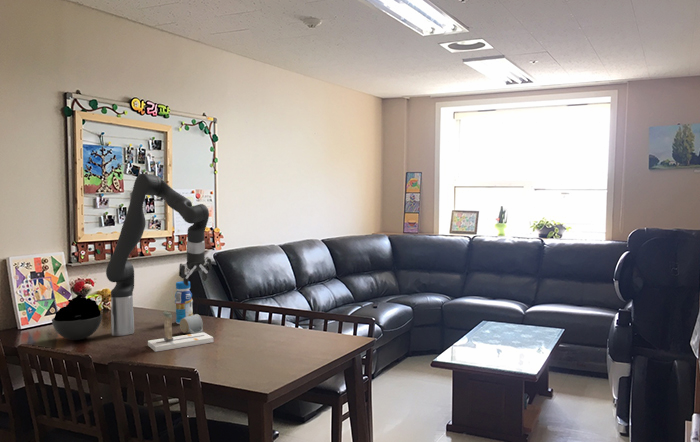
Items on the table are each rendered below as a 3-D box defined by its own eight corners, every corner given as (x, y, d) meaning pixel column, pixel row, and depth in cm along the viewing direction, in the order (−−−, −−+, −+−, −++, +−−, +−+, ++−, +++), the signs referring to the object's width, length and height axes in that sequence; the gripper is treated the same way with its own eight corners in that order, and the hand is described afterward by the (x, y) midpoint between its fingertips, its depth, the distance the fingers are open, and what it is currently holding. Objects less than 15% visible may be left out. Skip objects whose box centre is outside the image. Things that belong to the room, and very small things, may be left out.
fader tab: (167, 342, 238) (166, 314, 237) (163, 339, 243) (162, 311, 243) (174, 341, 239) (173, 313, 239) (169, 338, 245) (168, 310, 244)
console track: (155, 351, 232) (155, 346, 232) (147, 345, 243) (147, 340, 242) (213, 342, 245) (213, 337, 245) (204, 336, 255) (204, 331, 255)
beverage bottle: (174, 321, 288) (172, 281, 287) (191, 319, 291) (190, 280, 290) (177, 325, 280) (175, 283, 279) (194, 323, 284) (193, 282, 283)
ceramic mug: (178, 332, 264) (178, 316, 264) (194, 329, 270) (194, 313, 270) (191, 336, 257) (191, 319, 257) (207, 333, 263) (207, 316, 263)
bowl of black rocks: (83, 345, 245) (81, 301, 244) (42, 344, 249) (40, 300, 248) (112, 334, 264) (110, 293, 264) (73, 333, 268) (71, 292, 268)
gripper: (206, 242, 256) (205, 275, 263) (176, 249, 247) (176, 283, 253) (215, 249, 251) (214, 282, 258) (184, 256, 242) (184, 290, 248)
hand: (195, 282), depth 255 cm, fingers open, 8 cm apart
